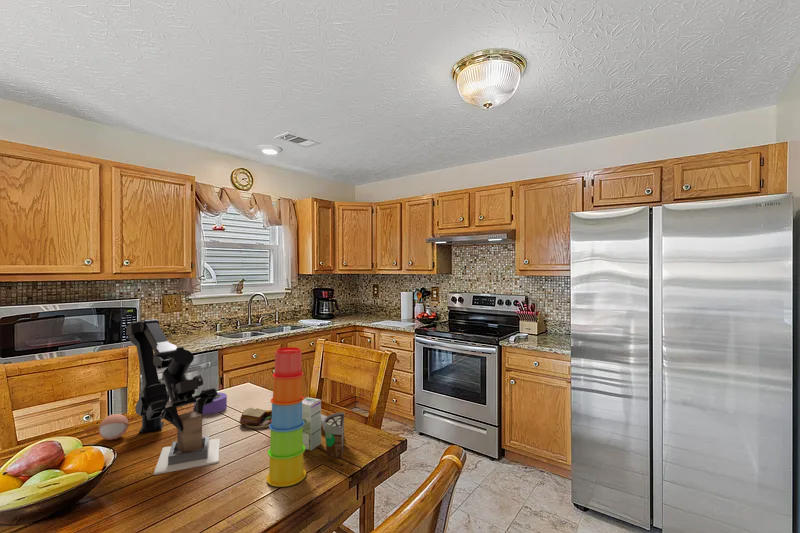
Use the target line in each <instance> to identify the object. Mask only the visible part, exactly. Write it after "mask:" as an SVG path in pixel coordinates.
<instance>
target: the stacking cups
mask: <svg viewBox="0 0 800 533" xmlns="http://www.w3.org/2000/svg"><path fill="white" fill-rule="evenodd" d="M302 355H303V353H302V350H301V348H300V347H295V346H294V347H293V346H290V347H289V346H287V347H280V348H277V349H276V351H275V354H274V373H272V377H273V386H272V388H273V389H272V398H270V403H271V410H272V423H271V424H270V425H269V427H268V428H269V430H270V440H269V441H270V442H269V444H270V447H269V449H267V450H268V451H267V455H268V457H269V470H268V471H269V472H268V474H267V476H266V482H267V484H269V485H270V486H272V487H276V488H283V487H284V488H286V487H290V486H294V485H296V484H299V483H300V482H302V481H303V480H304V479H305V477H306V474H307V471H306V470H305V468H304V452H305V451H306V449H305V446H304V445H303V426H304V421H303V420H302V401H303V400H304V398H305V397H304V396H303V387H302V386H303V377H302V376H304V372H302V366H303V364H302Z"/></svg>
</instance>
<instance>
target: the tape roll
mask: <svg viewBox="0 0 800 533" xmlns="http://www.w3.org/2000/svg"><path fill="white" fill-rule="evenodd" d="M217 393H218V394H217V395H216V397H215V399H214V400H213V402H212V403H210V404H206V405H204V407H203V415H202V416H205V415H206V416H207V415H214V414H218V413H221V412H223V411H225V410H226V409H227V408H228V405H227V403H228V399H227V398H228V397H227V396H228V395H227V394H226V392H217ZM194 407H195V406H194V405H193V408H194Z"/></svg>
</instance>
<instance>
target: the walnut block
mask: <svg viewBox="0 0 800 533" xmlns="http://www.w3.org/2000/svg"><path fill="white" fill-rule="evenodd" d="M178 415H179V418H180V420H181V423H182V426H183V431H180V430H179V429H177V428H176V429H177V430H176V431H177V437H176V439H177V440H176V441H177V449H178V450H180V451H181V452H182V453H184V452H190V451H194V450H197V449H200V448H202V437H203V415H202V414H200V413H198V412H196V411H193V410H192V411H189V412H185V413H181V414H178Z"/></svg>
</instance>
